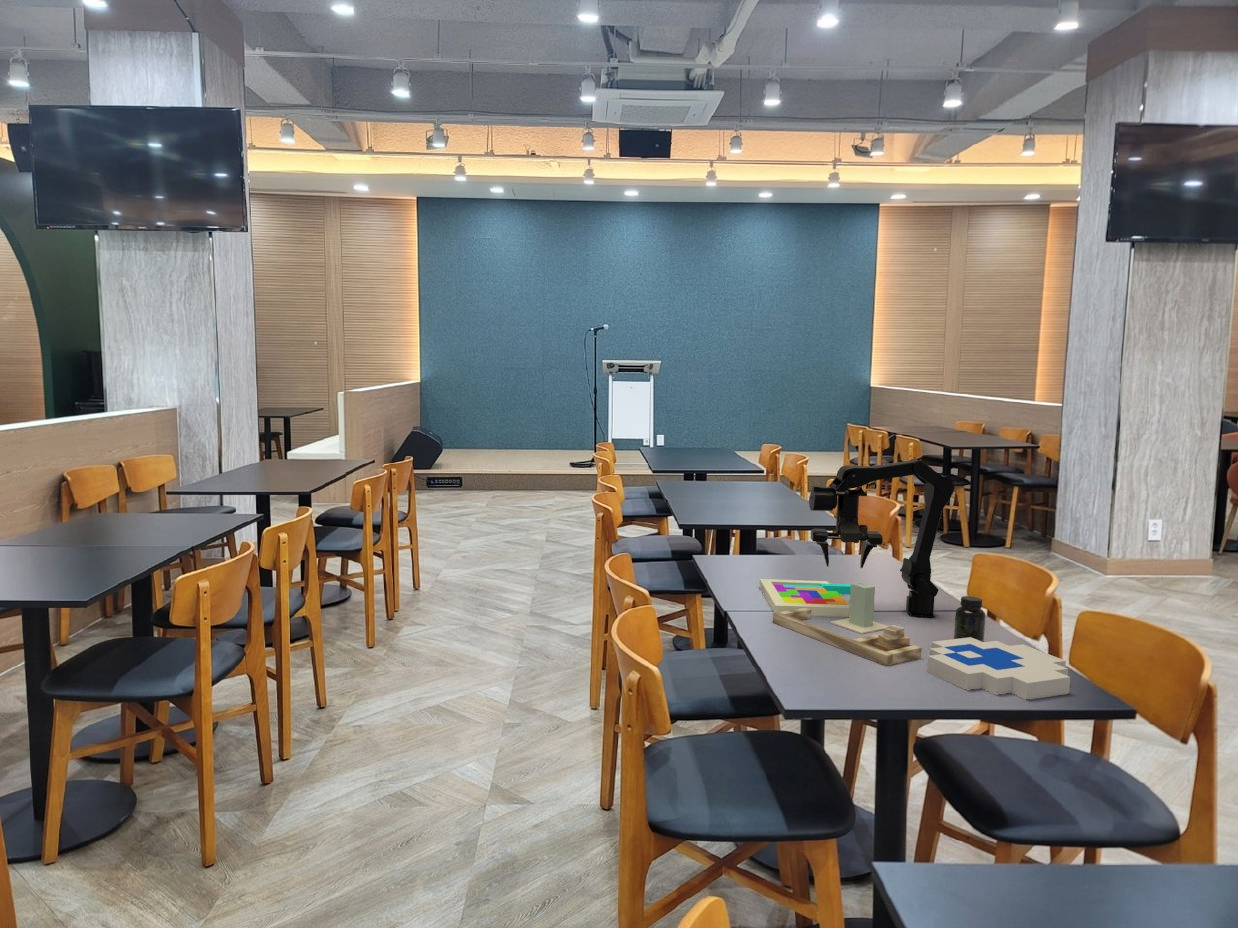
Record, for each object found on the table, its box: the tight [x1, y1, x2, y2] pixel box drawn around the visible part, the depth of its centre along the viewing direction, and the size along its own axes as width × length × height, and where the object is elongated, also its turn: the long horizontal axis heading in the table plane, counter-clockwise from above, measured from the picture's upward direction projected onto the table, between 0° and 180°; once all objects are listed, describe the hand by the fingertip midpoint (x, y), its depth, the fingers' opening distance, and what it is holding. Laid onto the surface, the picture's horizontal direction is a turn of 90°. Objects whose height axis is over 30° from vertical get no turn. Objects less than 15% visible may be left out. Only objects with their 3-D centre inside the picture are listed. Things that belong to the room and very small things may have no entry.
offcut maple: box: [882, 624, 905, 640], centre depth 201 cm, size 4×3×2 cm
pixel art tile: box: [926, 637, 1071, 700], centre depth 189 cm, size 28×4×28 cm
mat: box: [829, 617, 890, 635], centre depth 223 cm, size 11×11×1 cm
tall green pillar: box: [848, 582, 876, 628], centre depth 223 cm, size 4×5×10 cm
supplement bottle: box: [953, 595, 987, 642], centre depth 208 cm, size 7×7×12 cm
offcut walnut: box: [874, 643, 912, 651], centre depth 202 cm, size 7×5×2 cm
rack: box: [772, 608, 922, 667], centre depth 211 cm, size 12×38×2 cm, turn 32°
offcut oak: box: [878, 633, 911, 648], centre depth 201 cm, size 6×4×2 cm, turn 106°
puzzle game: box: [759, 578, 852, 618], centre depth 247 cm, size 30×3×30 cm
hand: (844, 567), depth 234 cm, fingers open, 9 cm apart
